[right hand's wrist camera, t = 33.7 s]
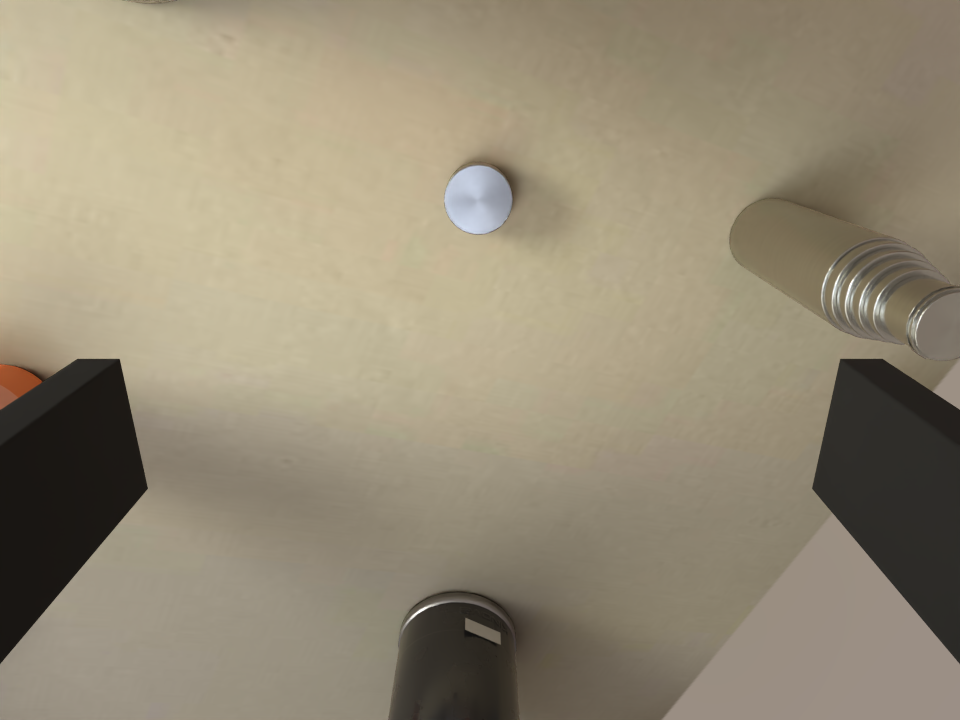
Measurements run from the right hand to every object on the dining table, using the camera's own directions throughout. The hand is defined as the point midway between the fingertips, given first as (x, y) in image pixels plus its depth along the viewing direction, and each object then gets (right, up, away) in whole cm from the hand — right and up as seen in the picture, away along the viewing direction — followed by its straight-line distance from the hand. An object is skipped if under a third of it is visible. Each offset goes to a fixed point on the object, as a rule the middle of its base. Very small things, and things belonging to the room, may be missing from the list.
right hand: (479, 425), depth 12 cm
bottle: (+18, +9, +30) cm, 36 cm away
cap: (0, +11, +27) cm, 29 cm away
